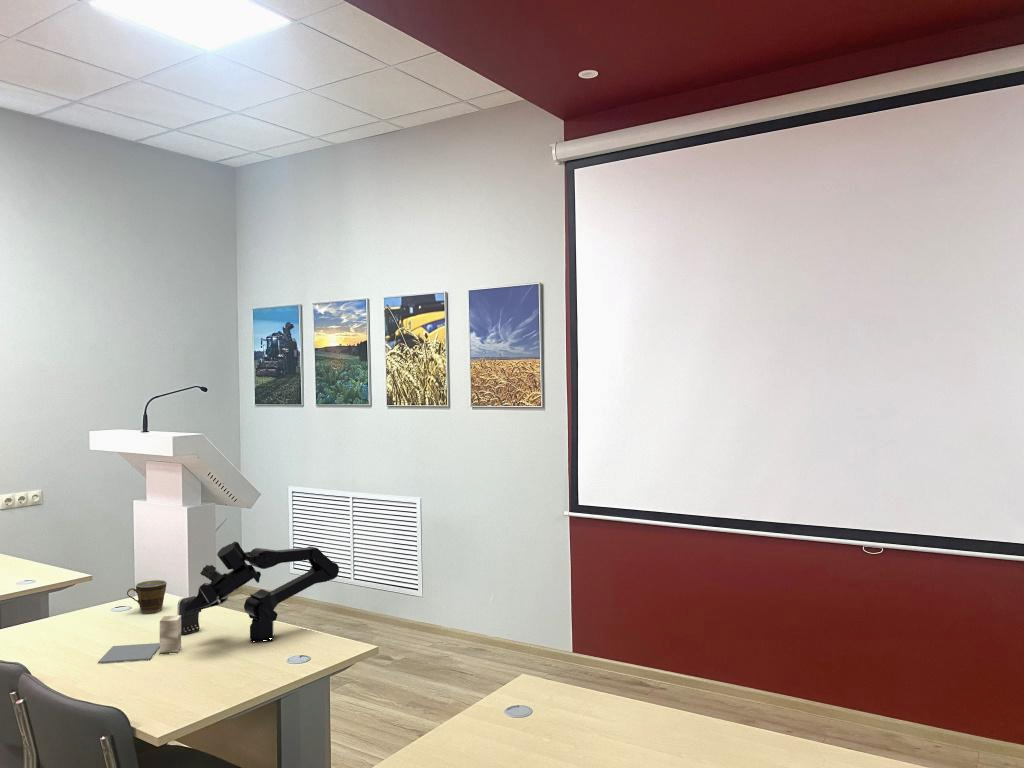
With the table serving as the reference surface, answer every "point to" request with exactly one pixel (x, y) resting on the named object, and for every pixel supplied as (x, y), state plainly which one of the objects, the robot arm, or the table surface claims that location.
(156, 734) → the table surface
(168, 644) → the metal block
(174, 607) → the table surface
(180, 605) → the battery charger
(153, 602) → the ceramic cup
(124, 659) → the mat
